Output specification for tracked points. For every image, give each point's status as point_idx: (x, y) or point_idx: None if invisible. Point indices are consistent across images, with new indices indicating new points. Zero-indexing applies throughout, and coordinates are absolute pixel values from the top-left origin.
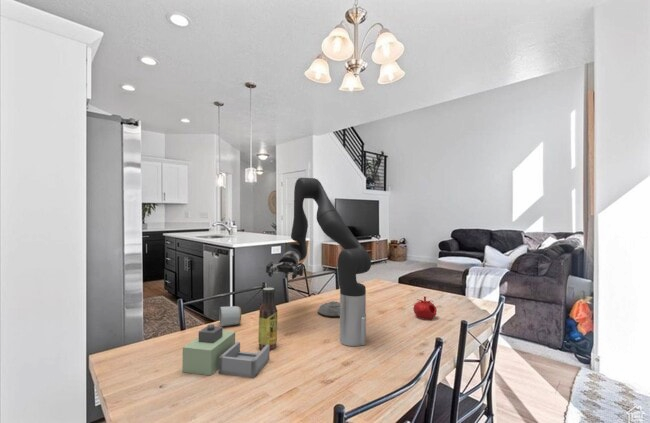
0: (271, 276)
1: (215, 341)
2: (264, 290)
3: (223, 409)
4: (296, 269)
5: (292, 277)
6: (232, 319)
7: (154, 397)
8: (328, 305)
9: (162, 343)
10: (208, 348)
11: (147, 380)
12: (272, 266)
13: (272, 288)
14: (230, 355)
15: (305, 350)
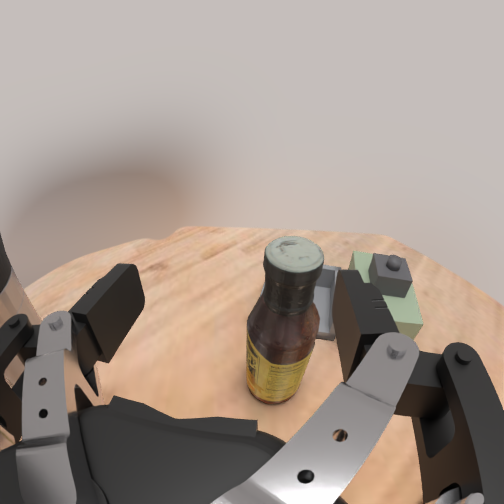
0: (333, 323)
1: (369, 274)
2: (308, 242)
3: None
4: (56, 315)
5: (139, 290)
6: None
7: (376, 252)
8: None
9: (494, 366)
10: (362, 255)
11: (414, 275)
12: (441, 494)
13: (276, 253)
14: (332, 295)
15: (169, 360)
